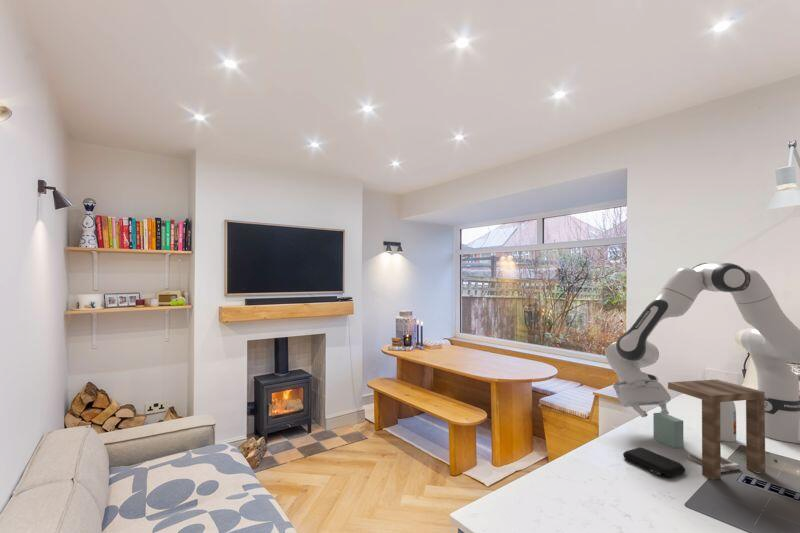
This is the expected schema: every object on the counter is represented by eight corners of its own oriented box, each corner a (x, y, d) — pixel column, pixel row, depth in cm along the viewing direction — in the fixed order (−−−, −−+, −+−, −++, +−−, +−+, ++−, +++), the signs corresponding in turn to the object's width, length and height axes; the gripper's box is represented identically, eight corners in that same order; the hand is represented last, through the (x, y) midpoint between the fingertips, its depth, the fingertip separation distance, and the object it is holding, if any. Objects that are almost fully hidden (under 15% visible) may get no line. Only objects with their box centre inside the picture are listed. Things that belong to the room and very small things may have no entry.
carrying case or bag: (617, 460, 122) (666, 483, 108) (617, 450, 122) (666, 472, 108) (639, 453, 126) (688, 475, 113) (639, 444, 126) (688, 464, 113)
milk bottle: (730, 444, 133) (729, 386, 134) (704, 436, 140) (704, 381, 141) (740, 440, 137) (740, 384, 137) (714, 432, 144) (714, 379, 144)
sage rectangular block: (662, 437, 139) (662, 412, 139) (683, 447, 131) (683, 420, 131) (653, 438, 138) (653, 413, 138) (674, 448, 130) (673, 421, 130)
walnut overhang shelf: (716, 451, 128) (716, 379, 128) (765, 472, 114) (764, 391, 115) (668, 457, 123) (668, 382, 124) (712, 479, 110) (712, 395, 110)
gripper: (615, 378, 145) (637, 413, 135) (660, 375, 149) (683, 409, 139) (606, 386, 149) (626, 421, 139) (650, 384, 153) (672, 417, 144)
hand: (655, 415), depth 139 cm, fingers open, 8 cm apart
